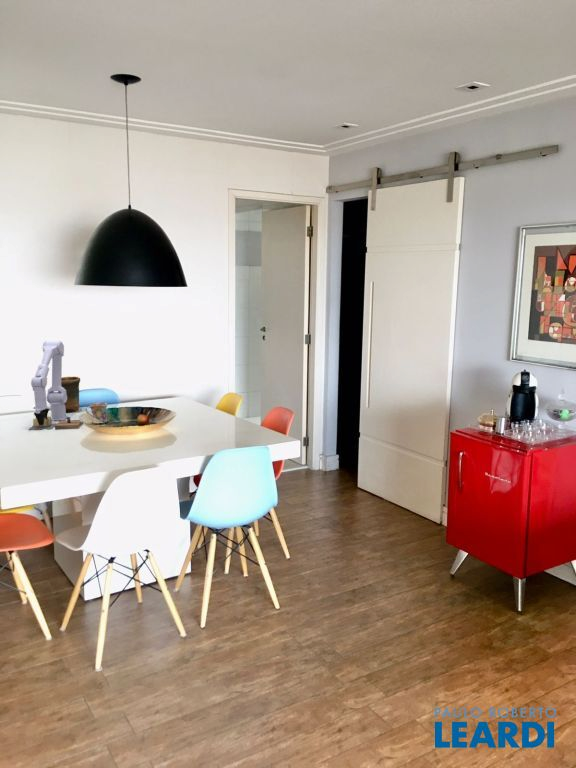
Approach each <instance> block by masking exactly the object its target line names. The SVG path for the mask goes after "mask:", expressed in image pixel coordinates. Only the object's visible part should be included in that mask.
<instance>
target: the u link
mask: <svg viewBox="0 0 576 768" xmlns="http://www.w3.org/2000/svg"><path fill="white" fill-rule="evenodd" d="M51 419H52V416H47V417H44V424H43V425H39V424H38V421H37V418H36V417H35V418H33V420H32V423H33V424H32V426H33V425H34V426H49V425H50V424H53V423H52V422H53V421H51Z"/></svg>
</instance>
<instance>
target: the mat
mask: <svg viewBox="0 0 576 768" xmlns="http://www.w3.org/2000/svg"><path fill="white" fill-rule="evenodd" d="M57 423H58V422H57ZM57 423H55V422H54V423H51V424H50V425H49V426H34V425H33V424H32V426H31V427H30V428H28V429H27V431H40V430H41V429H47V430H53V429H55V425H56V424H57ZM39 429H40V430H39ZM41 431H42V430H41Z"/></svg>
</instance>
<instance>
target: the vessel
mask: <svg viewBox="0 0 576 768" xmlns="http://www.w3.org/2000/svg"><path fill="white" fill-rule="evenodd" d="M80 382H81V378H80V377H79V376H63V377H62V376H61V386H62V387H63V388H64V389H65V390H66V394H67V401H66V402H65V403H64V404H65V407H66V415H67V414H71V415H72V414H74V413H75V414H76V413H80V412H81V409H80ZM57 392H60V391H57Z"/></svg>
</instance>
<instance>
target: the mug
mask: <svg viewBox="0 0 576 768" xmlns="http://www.w3.org/2000/svg"><path fill="white" fill-rule="evenodd" d="M107 406H108V402H103V401H102V402H93V403H91V404H89V406H86V407H85V412H86V413H87V414H88V416H90V417H91V418H92V417H93V418H96V419H98V420H100V421H104V422H106V421H108V422H109V420H108V418H107V415H106V412H107V411H106V410H107ZM88 408H90V409H91V411H92V413H91V414H90V412H89V411H88ZM93 418H92V419H93ZM106 423H107V422H106Z"/></svg>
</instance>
